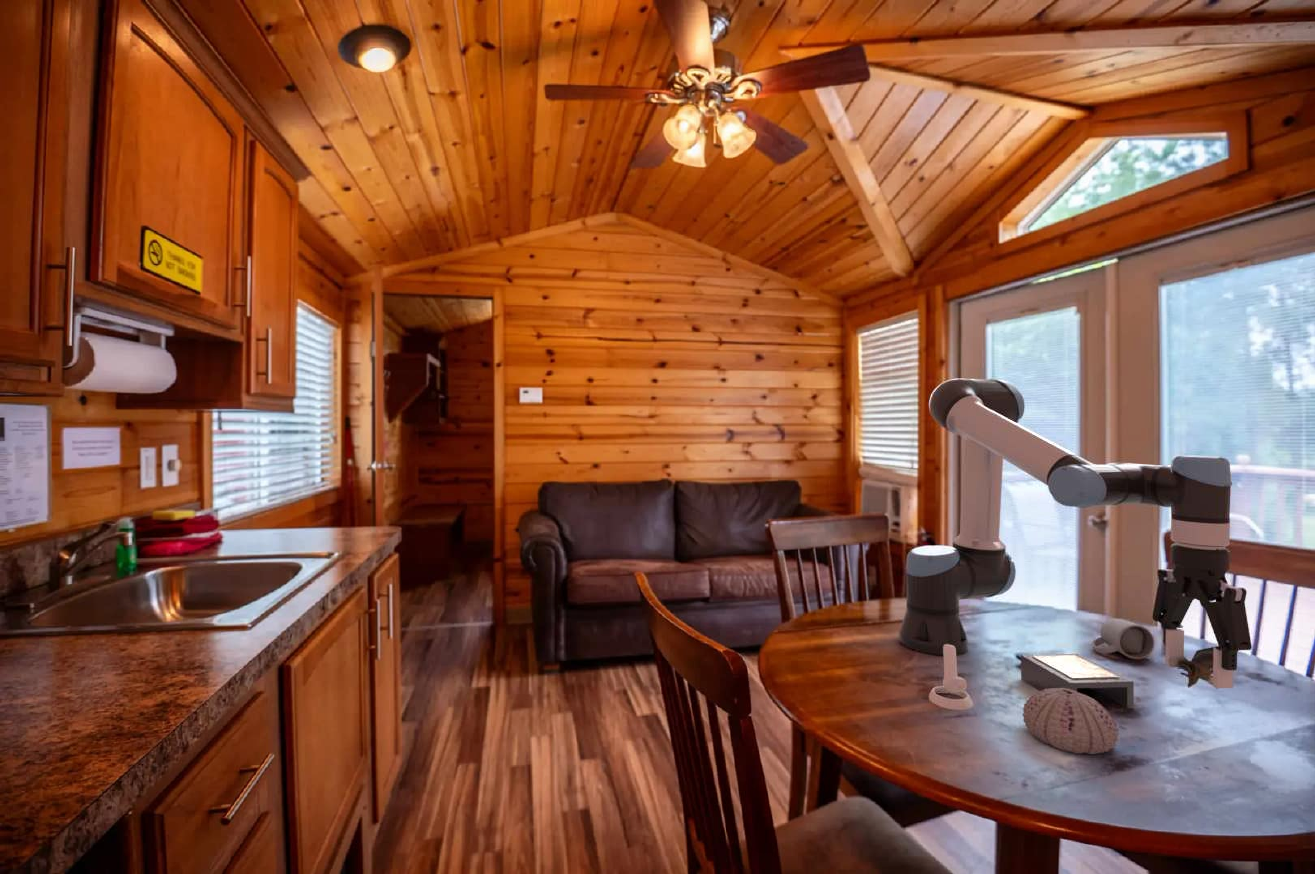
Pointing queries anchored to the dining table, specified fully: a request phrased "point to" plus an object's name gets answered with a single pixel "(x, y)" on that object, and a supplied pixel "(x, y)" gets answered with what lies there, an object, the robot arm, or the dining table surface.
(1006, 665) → the dining table surface
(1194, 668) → the eagle figurine
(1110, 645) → the ceramic mug
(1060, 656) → the dark boxy piece
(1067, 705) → the sea urchin shell
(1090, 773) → the dining table surface
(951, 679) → the vr controller
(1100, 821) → the dining table surface
